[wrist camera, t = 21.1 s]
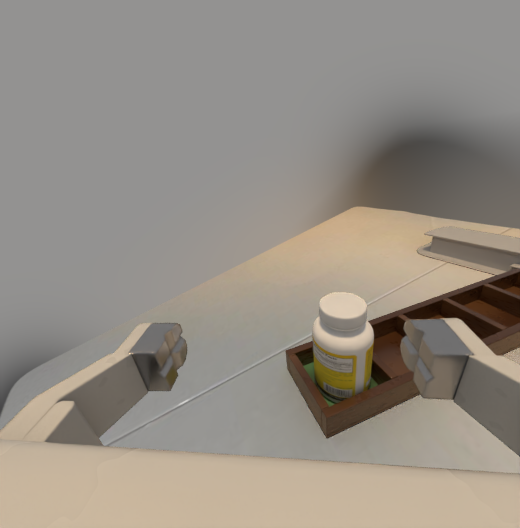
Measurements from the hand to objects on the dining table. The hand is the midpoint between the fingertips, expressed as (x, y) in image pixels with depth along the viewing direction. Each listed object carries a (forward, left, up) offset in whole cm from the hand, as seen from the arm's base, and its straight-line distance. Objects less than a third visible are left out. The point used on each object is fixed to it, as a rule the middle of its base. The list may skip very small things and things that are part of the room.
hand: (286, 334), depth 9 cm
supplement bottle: (+4, +11, -17) cm, 21 cm away
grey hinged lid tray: (+37, +39, -17) cm, 57 cm away
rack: (+18, +18, -17) cm, 30 cm away
